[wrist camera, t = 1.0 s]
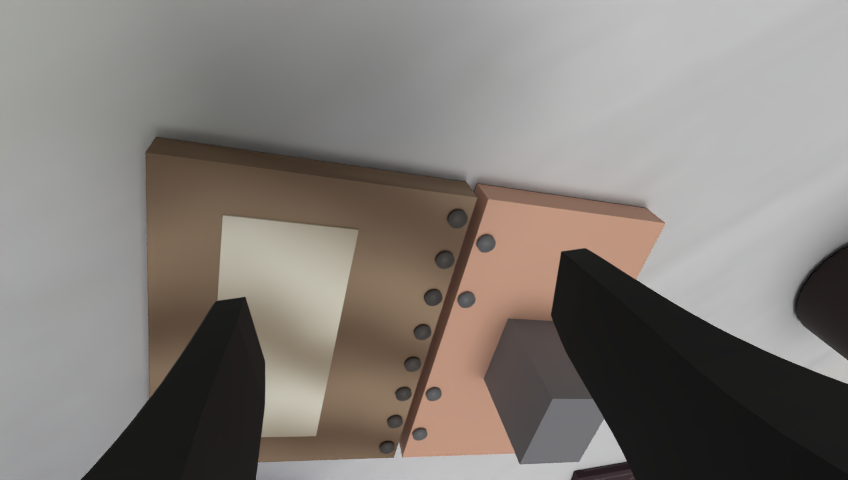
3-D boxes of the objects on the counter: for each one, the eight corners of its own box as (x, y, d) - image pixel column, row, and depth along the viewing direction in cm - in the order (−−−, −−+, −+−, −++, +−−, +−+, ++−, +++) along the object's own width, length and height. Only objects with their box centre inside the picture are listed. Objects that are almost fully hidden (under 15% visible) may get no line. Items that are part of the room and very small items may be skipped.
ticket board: (389, 434, 29) (394, 460, 28) (157, 439, 25) (149, 469, 24) (466, 182, 22) (478, 199, 20) (155, 137, 18) (143, 154, 17)
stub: (534, 431, 32) (584, 534, 27) (397, 434, 29) (421, 549, 24) (646, 208, 25) (746, 286, 19) (477, 183, 22) (538, 267, 16)
